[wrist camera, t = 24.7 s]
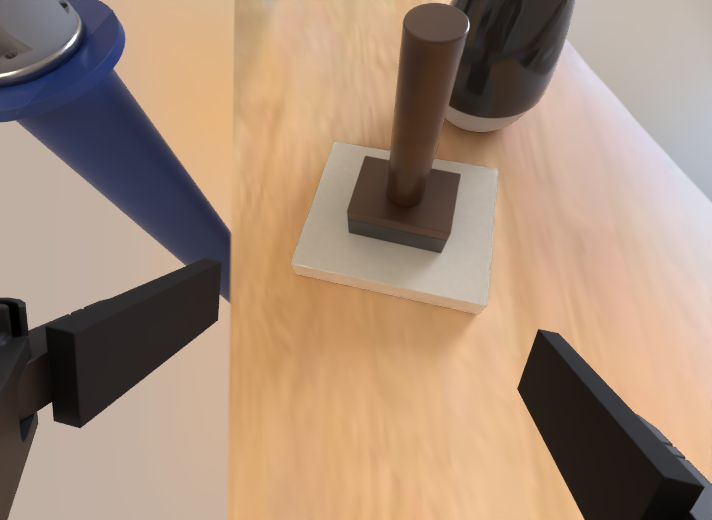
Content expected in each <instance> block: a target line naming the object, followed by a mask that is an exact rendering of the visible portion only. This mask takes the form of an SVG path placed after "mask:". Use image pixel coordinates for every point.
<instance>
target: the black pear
mask: <svg viewBox="0 0 712 520" xmlns="http://www.w3.org/2000/svg"><path fill="white" fill-rule="evenodd" d="M574 4H575V0H452V1H451V3H450V6H453V7H456V8H458V9H459V10H461V11H462V12H463V13H464V14H465V15H466V16H467V17H468V19H469V24H470V28H469V32H468V35H467V39H466V43H465V47H464V50H463V54H462V58H461V61H460V65H459V69H458V72H457V76H456V80H455V83H454V87H453V91H452V94H451V98H450V102H449V105H448V109H447V113H446V117H445V118H446V119H447V120H448V121H449V122H451V123H452V124H454V125H455V126H457V127H459V128H462V129H465V130H469V131H474V132H488V131H494V130H498V129H501V128H504V127H506V126H508V125H510V124H512V123H513V122H515V121H516V120H518V119H519V118H520V117H521V116H523V115H524V114H525V113H526V112H527V111H528V110H529V109H531V108H532V107H534V106H535V105H536V104H537V103H538V102H539V101H540V99H541V98H542V96H543V95H544V93H545V91H546V89H547V87H548V85H549V83H550V81H551V78H552V76H553V73H554V71H555V68H556V65H557V63H558V60H559V57H560V54H561V52H562V49H563V45H564V42H565V39H566V36H567V32H568V29H569V25H570V20H571V17H572V13H573V9H574Z"/></svg>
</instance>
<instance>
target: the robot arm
mask: <svg viewBox="0 0 712 520" xmlns="http://www.w3.org/2000/svg"><path fill="white" fill-rule="evenodd" d="M86 35H87V29H86V25H85V23H84V22H83V20H82V19H81V17H80V16H79V15H78V13H77V12H76V10H75V9H74V8H73V7H72V6H71V5H70V4H69V2H68V1H67V0H0V88H4V87H11V86H16V85H21V84H24V83H28V82H31V81H34V80H36V79H39V78H41V77H44V76H46V75H48V74H50V73H52V72H54V71H55V70H57V69H59V68H60V67H62V66H63V65H64V64H66V63H67V62H68V61H70V60H71V59H72V58H73V57H74V56H75V55H76V54H77V53H78V51H79V50H80V49H81V47H82V46H83V44H84V42H85V39H86ZM220 278H221V262H220V261H215V260H210V259H206V258H204V259H202V260H199V261H197V262H195V263H192V264H190V265H188V266H185V267H183V268H181V269H178V270H176V271H174V272H171V273H169V274H167V275H165V276H162V277H160V278H158V279H155V280H153V281H150V282H148V283H146V284H143V285H141V286H138V287H136V288H134V289H131V290H129V291H127V292H124V293H122V294H120V295H117V296H115V297H113V298H110V299H106V300H102V301H98V302H96V303H94V304H91V305H89V306H86V307H84V309H79V310H77V311H74V312H72V313H71V315H69V314H67V315H65V316H62V317H60V318H58V319H55V320H53V321H50V322H48V323H46V324H43V325H41V326H39V327H36V328H34V329H31V330H29V331H28V323H27V314H26V304H25V302H23V301H22V300H20V299H14V298H0V520H7V519H8V516H9V513H10V509H11V507H12V503H13V500H14V497H15V494H16V491H17V488H18V485H19V482H20V478H21V475H22V472H23V469H24V466H25V463H26V460H27V457H28V453H29V450H30V447H31V444H32V441H33V438H34V435H35V432H36V429H37V425H38V415H37V411H38V410H40V409H42V408H43V407H45V406H46V405H48V404H49V403H51V402H52V406H53V417H54V421H56V422H59V423H64V424H67V425H70V426H74V427H78V428H81V427H82V426H84V425H85V424H86V423H87V422H89V421H90V420H91V419H93V418H94V417H95V416H96V415H98V414H99V413H100V412H102V411H103V410H104V409H105V408H107V407H108V406H109V405H110V404H112V403H113V402H114V401H115V400H116V399H118V398H119V397H121V396H122V395H123V394H125V393H126V392H127V391H128V390H130V388H132V387H133V386H135V385H136V384H137V383H139V382H140V381H141V380H142V379H144V378H145V377H146V376H147V375H149V374H150V373H151V372H152V371H154V370H155V369H156V368H158V367H159V366H160V365H161V364H163V363H164V362H165V361H167V360H168V359H169V358H170V357H172V356H173V355H174V354H175V353H177V352H178V351H179V350H180V349H182V348H183V347H184V346H186V345H187V344H188V343H189V342H191V341H192V340H193V339H195V338H196V337H197V336H198V335H200V334H201V333H202V332H204V331H205V330H206V329H207V328H209V327H210V326H211V325H212V324H214V323H215V322H216V321H218V309H219V294H220ZM517 389H518V391H519V393H520V395H521V397H522V399H523V401H524V403H525V405H526V407H527V409H528V411H529V413H530V415H531V416H532V418H533V420H534V422H535V424H536V426H537V428H538V430H539V432H540V434H541V436H542V438H543V440H544V442H545V444H546V446H547V447H548V449H549V451H550V453H551V455H552V457H553V459H554V461H555V463H556V465H557V467H558V469H559V471H560V473H561V475H562V477H563V479H564V480H565V482H566V484H567V486H568V488H569V490H570V492H571V494H572V496H573V498H574V500H575V502H576V504H577V506H578V508H579V510H580V511H581V513H582V515H583V517H584V519H585V520H712V484H711V483H710V482H709V481H708V480H707V479H706V478H705V477H704V476H703V475H702V474H701V473H700V472H699V471H698V470H697V469H696V468H695V467H694V466H693V465H692V464H691V463H690V462H689V461H688V460H685V456H684V455H683V454H682V453H681V452H680V451H679V450H678V449H677V448H676V447H673V446H672V443H671V442H670V441H669V440H668V439H667V438H666V437H665V436H664V435H663V434H662V433H661V432H660V431H659V430H658V429H657V428H655V427H654V426H653V425H651V424H650V423H649V422H647V421H646V420H644V419H643V418H642V417H640V416H639V415H637V414H635V413H634V412H633V411H632V410H631V409H630V408H629V407H628V406H627V405H626V404H625V403H624V401H623V400H622V399H621V398H620V397H619V396H618V395H617V394H616V393H615V392H614V391H613V390H612V389H611V388H610V387H609V386H608V385H607V384H606V383H605V382H604V380H603V379H602V378H601V377H600V376H599V375H598V374H597V373H596V372H595V371H594V370H593V369H592V368H591V367H590V366H589V365H588V364H587V363H586V362H585V361H584V359H583V358H582V357H581V356H580V355H579V354H578V353H577V352H576V351H575V350H574V349H573V348H572V347H571V346H570V345H569V344H568V343H567V342H566V341H565V339H564V338H563V337H562V336H561V335H560V334H559V333H555V332H550V331H545V330H540V329H538V331H537V334H536V337H535V340H534V343H533V346H532V349H531V351H530V354H529V357H528V360H527V363H526V366H525V368H524V371H523V374H522V377H521V380H520V383H519V386H518V388H517Z"/></svg>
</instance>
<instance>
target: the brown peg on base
mask: <svg viewBox="0 0 712 520" xmlns="http://www.w3.org/2000/svg"><path fill="white" fill-rule="evenodd" d="M469 28H470V24H469V19H468V17H467V16H466V15H465V14H464V13H463V12H462V11H461V10H459V9H458V8H456V7H453V6H450V5H447V4H441V3H428V4H423V5H419V6H417V7H414V8H413V9H411V10H410V11H409V12H408V13H407V14H406V16H405V18H404V20H403V28H402V38H401V48H400V58H399V68H398V79H397V89H396V99H395V109H394V119H393V129H392V139H391V149H390V159H389V160H386V159H381V158H376V157H371V156H365V157H364V160H363V163H362V166H361V169H360V172H359V175H358V178H357V181H356V185H355V188H354V191H353V194H352V197H351V200H350V203H349V206H348V209H347V218H348V231H349V233H352V234H356V235H361V236H365V237H370V238H374V239H379V240H383V241H387V242H392V243H396V244H401V245H405V246H410V247H414V248H419V249H423V250H427V251H432V252H436V253H442V251H443V249H444V247H445V245H446V242H447V240H448V238H449V236H450V234H451V230H452V224H453V218H454V212H455V207H456V201H457V195H458V189H459V183H460V178H461V174H459V173H454V172H448V171H443V170H438V169H433V168H432V164H433V161H434V157H435V153H436V150H437V146H438V142H439V139H440V135H441V131H442V128H443V124H444V120H445V117H446V113H447V109H448V105H449V102H450V98H451V94H452V91H453V87H454V83H455V80H456V76H457V72H458V69H459V65H460V61H461V58H462V54H463V50H464V47H465V43H466V39H467V35H468V32H469Z"/></svg>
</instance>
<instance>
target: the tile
mask: <svg viewBox="0 0 712 520" xmlns="http://www.w3.org/2000/svg"><path fill="white" fill-rule="evenodd" d="M365 156H371V157H376V158H381V159H386V160H389V159H390V151H388V150H382V149H376V148H371V147H365V146H359V145H353V144H347V143H341V142H335V141H334V143H333V146H332V149H331V151H330V154H329V157H328V160H327V163H326V165H325V168H324V171H323V174H322V177H321V179H320V182H319V185H318V188H317V191H316V193H315V196H314V199H313V202H312V205H311V207H310V210H309V213H308V216H307V219H306V221H305V224H304V227H303V230H302V233H301V235H300V238H299V241H298V244H297V247H296V249H295V252H294V255H293V258H292V261H291V265H292V268H293V270H294V272H295V274H298V275H302V276H307V277H311V278H316V279H320V280H325V281H329V282H334V283H338V284H343V285H347V286H352V287H356V288H361V289H365V290H370V291H374V292H379V293H383V294H388V295H392V296H397V297H401V298H406V299H410V300H415V301H419V302H424V303H428V304H433V305H437V306H442V307H446V308H451V309H455V310H460V311H464V312H469V313H473V314H479V313H480V312H481V311H482V310H484V309H485V308H486V307H487V301H488V289H489V277H490V265H491V253H492V241H493V229H494V217H495V205H496V193H497V181H498V169H494V168H488V167H482V166H476V165H470V164H464V163H459V162H453V161H447V160H441V159H435V158H434V161H433V164H432V168H433V169H438V170H443V171H448V172H454V173H459V174H461V178H460V183H459V189H458V195H457V201H456V207H455V212H454V218H453V224H452V230H451V234H450V236H449V238H448V240H447V242H446V245H445V247H444V249H443V251H442V253H436V252H432V251H427V250H423V249H419V248H414V247H410V246H405V245H401V244H396V243H392V242H387V241H383V240H379V239H374V238H370V237H365V236H361V235H356V234H352V233H349V231H348V218H347V209H348V206H349V203H350V200H351V197H352V194H353V191H354V188H355V185H356V181H357V178H358V175H359V172H360V169H361V166H362V163H363V160H364V157H365Z"/></svg>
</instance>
